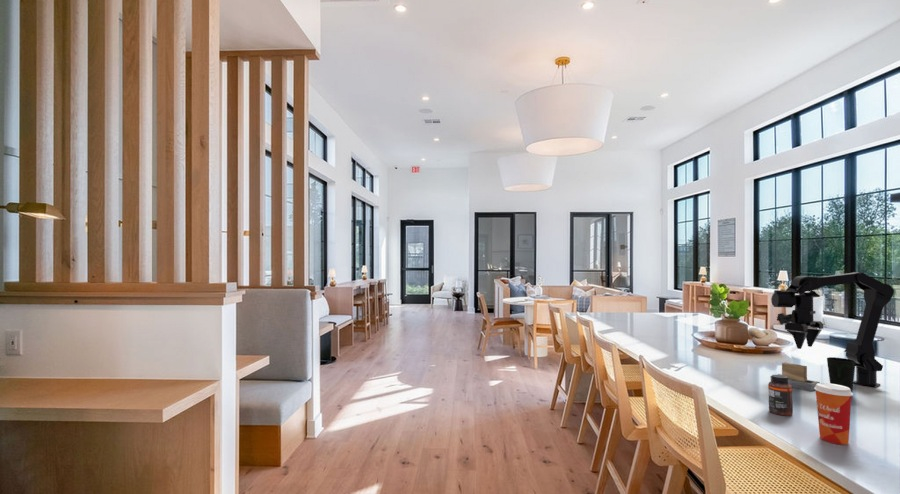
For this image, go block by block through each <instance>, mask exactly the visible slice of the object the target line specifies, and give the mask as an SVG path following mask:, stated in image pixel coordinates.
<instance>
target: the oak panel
mask: <svg viewBox="0 0 900 494" xmlns="http://www.w3.org/2000/svg"><path fill="white" fill-rule="evenodd" d="M807 368H808V366H807V365H802V364H795V363H790V362H781V374H782V375H783V376H787V377H788V379H792V380H797V381H802V382H806V383H807V380H808V369H807Z"/></svg>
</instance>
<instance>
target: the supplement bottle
mask: <svg viewBox="0 0 900 494" xmlns="http://www.w3.org/2000/svg"><path fill="white" fill-rule="evenodd" d="M771 376H772V381H771V380H770V381H769V382H768V383H767V384H768V385H767V386H768V387H767V388H768V389H767V390H768V392H767V394H768V411H769V412H771V414H775V415H779V416H789V417H790V416H792V415H793V413H794V408H793V407H794V406H793V387H792V386H791V385H790V384H789V383H788V377H787V376H783V375H777V374H772V375H771Z"/></svg>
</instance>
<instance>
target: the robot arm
mask: <svg viewBox="0 0 900 494" xmlns="http://www.w3.org/2000/svg"><path fill="white" fill-rule="evenodd" d="M847 284H854V285H855V286H857V288H859V289H860V290H862V291H863V299H864V302H865V307H864V310H863V314H862V315H861V316H862V317H861V320H860V323H859V328H858V330H857V334H856V337H855V340H853V341H852V342H850V341H848V342H847V343H846V347H845V349H844V351H843V352H844V353H845V357H846V359H850V360H854V361H855V373H856V374H855V375H856V376H855V377H856V379H855V380H854V381H853V384H855V385H860V386H866V387H872V388H876V387H879V386H881V385H882V384H881V383H878V381H877V377H878V376H877V372H881V371H882V370H883V367H884V365H883V364H881V363H880V362H879V361H878V360H877V359H876V350H875V347H874V341H875V338H876V333H877V331H878V328H879V327H878V326H879V323H880V320H881V316H882V313H883V309H884V308H885V307H886V306H887V305H888V304H889V302H891V300H892V298H893V296H894V294H895V289H894V288H893V286H891V285H890V284H888V283H883V282H882V281H880V280H878V279H875V278H874V277H871V276H869V275H867V274H866V273H864V272H859V271H857V272H856V271H853V272H849V273H839V274H833V275H832V274H831V275H821V276H807V275H806V276H805V275H804V276H802V275H801V276H800V275H797V276H795V277H793V279H792V281H791V283H790V285H789V286H788V287H787V288H786V290H779V289H778V290H777V289H774V291H773V293H772V296H771V305H772V307H774V308H793V307H794V309H792V311H791V313H788V314H785V313H784V312H782V313H777V316H776V321H778V322H779V324H780V325H784V330H785V331H786V332H787V333H790V334H791V335H792V337H793V340H794V342H795V345H796V348H797V349H799V350H802V348H803V345H804V343H805V340H806V344H807V347H810V348H812V347H813V345H814V343H815V341H816V340H817V338H818V336H819V335H820V334H821V332H822V329H824V323H823V322H822V321H819V320H814V315H816V314H817V313H816V310H814V298H820V297H821V296H820V294H818V293H817V292H816V290H819V289H821V288H824V287H830V286H839V285H847Z"/></svg>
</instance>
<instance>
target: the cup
mask: <svg viewBox="0 0 900 494" xmlns="http://www.w3.org/2000/svg"><path fill="white" fill-rule="evenodd" d="M826 362H827V369H828V377H829V383H831V384H837V385H842V386H846V387H848V388H850V389H851V392H852V393H853V389H854V383H853V382H854V381H855V373H856V366H855V361H854V360H850V359H848V358H845V357H831V356H830V357H826Z"/></svg>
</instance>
